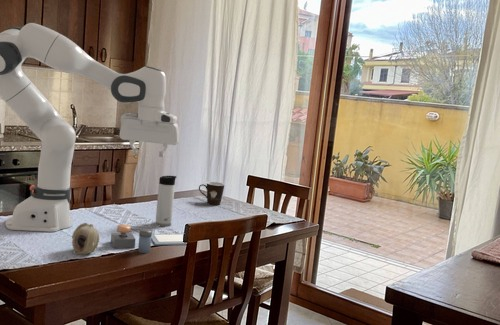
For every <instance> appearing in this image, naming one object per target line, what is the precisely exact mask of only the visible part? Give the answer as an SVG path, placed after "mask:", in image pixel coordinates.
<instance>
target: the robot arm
mask: <svg viewBox="0 0 500 325" xmlns="http://www.w3.org/2000/svg"><path fill="white" fill-rule="evenodd" d="M29 58H32V59H35V60H37V61H39V62H40V63H42V64H44V65H45V66H48V67H50V68H52V69H55V70H57V71H60V72H62V73H65V74H74V75H79V76H83V77H85V78H86V77H87V78H89V79H90V80H93V81H94V82H97V83H98V84H99V85H102V86H104V87H106V88H107V89H109V90H110V92H111V95H112V98H114V99H115V101H118V102H120V103H122V104H130V103H138V107H137V108H138V109H137V113H132V112H131V113H130V112H125V113H124V114H122V115H121V116H120V124H121V125H120V129H119V138H120V139H121V140H123V141H129V146H130V147H131V153H132V154H133V155H137V154H138V152H139V151H138V150H139V148H136V146H135V143H136V142H144V143H151V144H162V147H163V149H162V150H160V151H159V152H158V154H159V155H158V157H160V158H161V157H162V158H164V157H165V152H166V151H167V149H168V148H169V145H170V146H175V145H178V143H179V142H180V128H179V125H178V123H177V122H178V116H176V115H174V114H172V113H169V112H167V111H165V110H166V108H165V107H166V106H165V98H166V96H167V95H166V94H167V76H166V74H165V72H164V71H162V70H161V69H159V68H157V67H152V66H147V65H146V66H143V67H141V68H140V69H137V70H134V71H132V72H128V73H121V72H119V71H118V72H117V71H116V70H113V68H110V67H108V66H106V65H104V64H103V63H100V62H99V61H97V60H95V59H94V58H93V57H91V56H90V55H89V54H88V53H87V52H85V50H84V49H82V48H81V47H80V46H79V45H77V43H75V42H74V41H73V40H71V39H70V38H68V37H67V36H65V35H63V34H61V33H59V32H58V31H56V30H53V29H51V28H49V27H46V26H44V25H41V24H38V23H36V22H28V23H27V24H25V25H24V26H12V27H8V28H6V29H4V30H3V31H2V32H0V98H1V99H2V100H3V102H4V103H5V104H7V106H8V107H9V108H10V109H11V110H12V111H13V112H14V113H15V114H16V115H17V117H18V118H20V120H21V121H22V122H23V123H24V124H25V125H26V126H27V127H28V128H29V129H30V130H31V131H32V133H33V134H34V135H35V136H36V137H37V138H38V139H39V140H40V141H41V146H40V153H39V154H40V155H39V161H38V167H37V170H38V171H37V185H35V184H31V185H30V186H29V190H30V196H29V197H28V198H26V199H24V200H23V201H21V202H20V203H18V204H17V205H16V206H15V207H14V210H13V212H12V216H10V217H8V218H7V219H6V220H5V224H4V225H5V228H7V229H8V230H11V231H29V232H53V233H54V232H57V231H59V230H62V229H63V230H64V229H67V228H69V227H71V226H72V225H73V223H72V219H71V218H72V217H71V212H70V202H71V198H72V189H71V186H70V185H71V172H72V171H71V170H72V162H73V159H74V153H75V146H76V138H77V137H76V136H77V135H76V131H75V129H74V127H73V126H72V125H71V124H70V123H69V122H67V121H66V120H65V118H63V117H62V116H61V115H60V113H59V112H58V111H57V110H56V109H55V107H54V106H53V105H52V104H51V103H50V101H49V100H48V98H46V97H45V95H44V94H43V93H42V92H41V91H40V90H39V89H38V87H36V85H35V84H34V83H33V82H32V81H31V80H30V79H29V77H28V76H27V75H26V74H25V73H24V71H23V70H22V69H23V68H22V65H23V64H25V63H26V62H27V60H28V59H29Z"/></svg>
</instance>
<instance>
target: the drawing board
mask: <svg viewBox="0 0 500 325" xmlns="http://www.w3.org/2000/svg"><path fill="white" fill-rule="evenodd" d="M183 234H184V233H152V237H151V242H152V243H153V244H154V246H186V243H184V242H183Z"/></svg>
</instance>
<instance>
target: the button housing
mask: <svg viewBox="0 0 500 325" xmlns="http://www.w3.org/2000/svg"><path fill="white" fill-rule="evenodd" d="M110 234H111V235H110V243H111V245H112V247H113V249H126V248H127V249H128V248H129V249H131V248H132V249H133V248H134V249H135V248H136V238H135V236H134V235H133V233H132V232H129V233H126V237H121V233H120V232H111V233H110Z"/></svg>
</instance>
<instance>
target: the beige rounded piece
mask: <svg viewBox="0 0 500 325" xmlns="http://www.w3.org/2000/svg"><path fill="white" fill-rule="evenodd" d="M71 238H72V240H71V243H72V244H71V245H72V248H73V252H72V253H73V254H75V255H83V256H84V255H87V254H92V253H94V252H95V250H96V249H97V248H98V246H99V243H100V233H99V231H98V229H96V228H95V226H94V224H93V223H91V224H90V223H87V222H84V223H81V224H79V225H78V226H77V227H76V228H75V230H74V231H73V233H72V236H71Z"/></svg>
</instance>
